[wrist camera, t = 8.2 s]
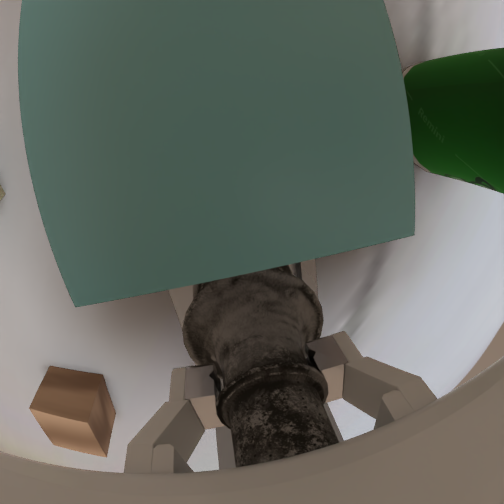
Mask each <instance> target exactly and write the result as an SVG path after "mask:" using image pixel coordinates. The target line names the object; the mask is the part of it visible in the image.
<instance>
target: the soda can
mask: <svg viewBox="0 0 504 504" xmlns="http://www.w3.org/2000/svg"><path fill="white" fill-rule="evenodd" d="M402 74H403V80H404V85H405V91H406V97H407V104H408V111H409V118H410V127H411V136H412V147H413V161H414V163H415V164H417V165H418V166H419V167H421V168H422V169H423V170H425V171H426V172H430V173H434V174H438V175H442V176H446V177H450V178H453V179H457V180H461V181H464V182H468V183H471V184H475V185H478V186H481V187H485V188H488V189H491V190H494V191H497V192H500V193H503V194H504V48H497V49H489V50H482V51H475V52H469V53H463V54H457V55H452V56H447V57H442V58H438V59H433V60H429V61H424V62H420V63H417V64H415V65H412V66H410V67H408V68H407V69H406V70H405V71H404V72H403V73H402Z"/></svg>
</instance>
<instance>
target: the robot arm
mask: <svg viewBox="0 0 504 504" xmlns="http://www.w3.org/2000/svg"><path fill="white" fill-rule="evenodd" d="M304 346H305V352H306V355H307V358H306V360H307V363H308V365H309V366H311V367H314V368H315V369H316V370H318V371H319V372H320V373H322V374H323V376H324V378H325V379H326V381H327V383H328V392H329V393H328V396H327V399H326V402H325V403H327V402H330V401H333V400H337V399H340V398H343V399H344V400H346V401H347V402H349V403H350V404H352V405H354V406H355V407H357V408H358V409H360V410H362V411H363V412H365V413H367V414H368V415H370V416H371V417H373V418H375V419H376V423H375V426H374V430H372V431H369V432H367V433H364V434H362V435H359V436H356V437H354V438H351V439H348V440H345V441H342V442H339V443H336V444H333V445H330V446H327V447H324V448H321V449H317V450H314V451H310V452H307V453H303V454H299V455H295V456H291V457H287V458H283V459H279V460H274V461H270V462H265V463H259V464H254V465H248V466H242V467H236V468H229V469H221V470H213V471H203V472H193V470H192V469H191V468H190V467H189V466H188V464H187V461H188V459H189V458H190V456H191V454H192V452H193V451H194V449H195V447H196V446H197V444H198V442H199V440H200V439H201V437H202V435H203V433H204V432H205V430H204V429H211V428H217V427H222V426H225V425H224V424H222V423H221V421H220V420H219V418H218V416H217V414H216V401H217V398H218V395H219V393H220V392H221V391H222V389H223V387H222V383H221V380H220V378H218V376H217V369H216V366H215V364H214V363H209V364H203V365H196V366H188V367H183V368H175V369H173V371H172V375H171V385H170V396H169V402H165V403H164V404H163V405H162V406H161V408H160V409H159V410H158V411H157V412H156V413H155V414H154V416H153V417H152V418H151V419H150V420H149V421H148V422H147V424H146V425H145V426H144V427H143V428H142V429H141V430H140V431H139V433H138V434H137V435H136V436H135V437H134V438H133V439H132V440H131V442H130V443H129V444H128V447H127V454H126V461H125V468H124V473H113V472H101V471H91V470H83V469H76V468H69V467H63V466H58V465H52V464H47V463H43V462H38V461H34V460H30V459H26V458H22V457H18V456H15V455H11V454H8V453H5V452H2V451H0V504H504V356H503V357H501V358H500V359H499V360H498V361H496V362H495V363H494V364H492V365H491V366H489V367H488V368H487V369H485V370H484V371H482V372H481V373H479V374H478V375H476V376H475V377H473V378H472V379H470V380H469V381H467V382H466V383H464V384H462V385H461V386H459V387H458V388H456V389H454V390H453V391H451V392H449V393H448V394H446V395H444V396H442V397H441V398H439V399H437V398H436V396H435V395H434V394H433V393H432V391H431V390H430V389H429V387H428V386H427V385H426V384H425V382H424V381H423V380H422V378H421V377H419V376H416V375H413V374H411V373H408V372H405V371H403V370H400V369H398V368H395V367H392V366H390V365H387V364H385V363H382V362H379V361H377V360H374V359H372V358H369V357H364V358H363V356H362V355H361V354H360V352H359V351H358V349H357V348H356V346H355V345H354V343H353V342H352V340H351V339H350V337H349V336H348V335H347V333H346V332H345V331H342V332H339V333H335V334H332V335H329V336H326V337H323V338H319V339H316V340H312V341H309V342H305V345H304Z"/></svg>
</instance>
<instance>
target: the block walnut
mask: <svg viewBox="0 0 504 504" xmlns="http://www.w3.org/2000/svg"><path fill="white" fill-rule="evenodd" d="M29 409H30V410H31V412H32V414H33V415H34V417H35V418H36V420H37V422H38V423H39V425H40V426H41V428H42V429H43V431H44V432H45V434H46V435H47V436H48V438H49V439H50V441H51V442H52V443H53V445H56V446H60V447H63V448H67V449H71V450H75V451H79V452H83V453H88V454H92V455H97V456H102V457H107V454H108V448H109V443H110V438H111V433H112V428H113V424H114V419H115V415H116V412H115V409H114V406H113V404H112V401H111V398H110V395H109V392H108V389H107V386H106V383H105V380H104V377H103V375H102V374H95V373H88V372H82V371H76V370H70V369H65V368H59V367H54V366H50V367H49V369H48V371H47V373H46V375H45V376H44V378H43V380H42V382H41V384H40V386H39V388H38V390H37V393H36V395H35V397H34V399H33V401H32V403H31V405H30V407H29Z"/></svg>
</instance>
